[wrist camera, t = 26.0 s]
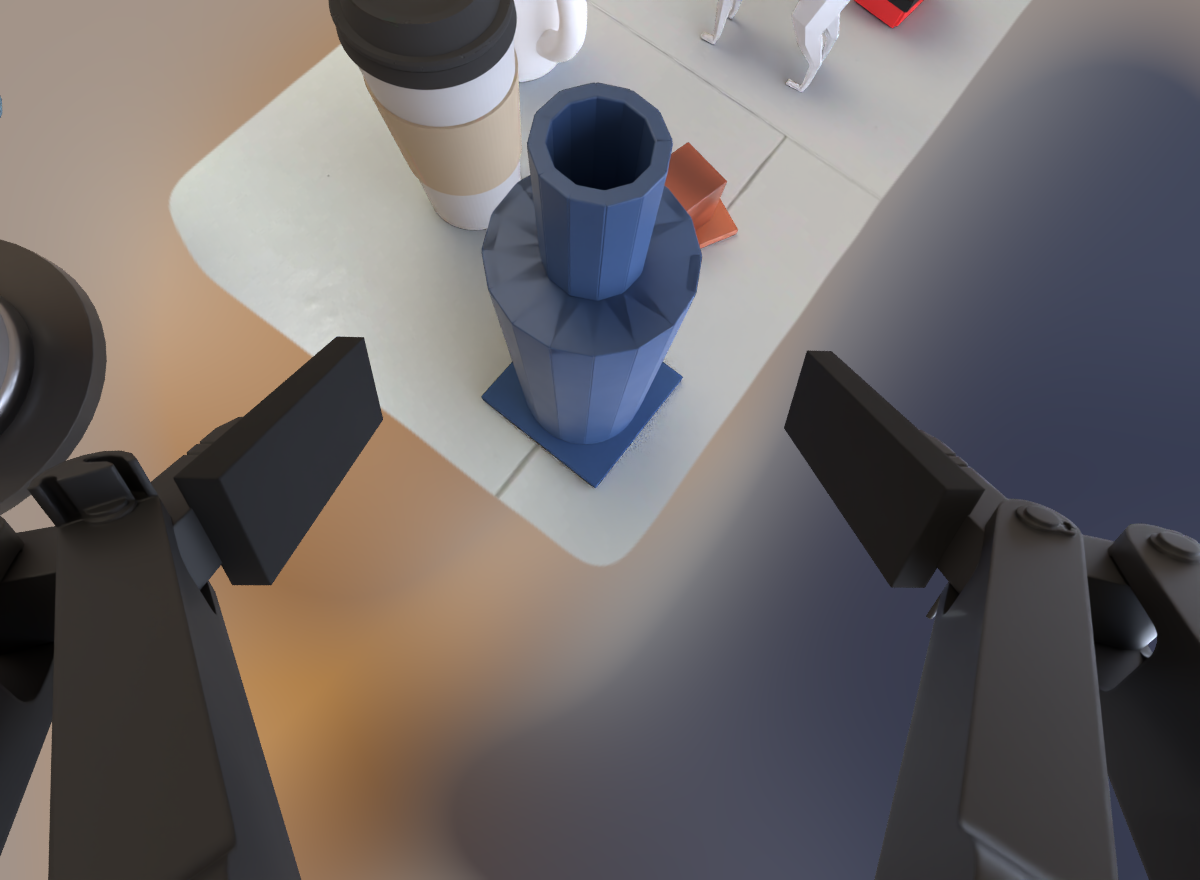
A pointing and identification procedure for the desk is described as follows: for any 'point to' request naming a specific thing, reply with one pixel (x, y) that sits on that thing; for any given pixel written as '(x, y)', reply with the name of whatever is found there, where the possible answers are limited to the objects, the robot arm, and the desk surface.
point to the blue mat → (578, 457)
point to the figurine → (890, 9)
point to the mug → (547, 34)
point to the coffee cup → (444, 94)
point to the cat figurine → (797, 30)
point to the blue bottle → (591, 261)
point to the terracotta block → (694, 184)
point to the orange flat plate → (716, 227)
